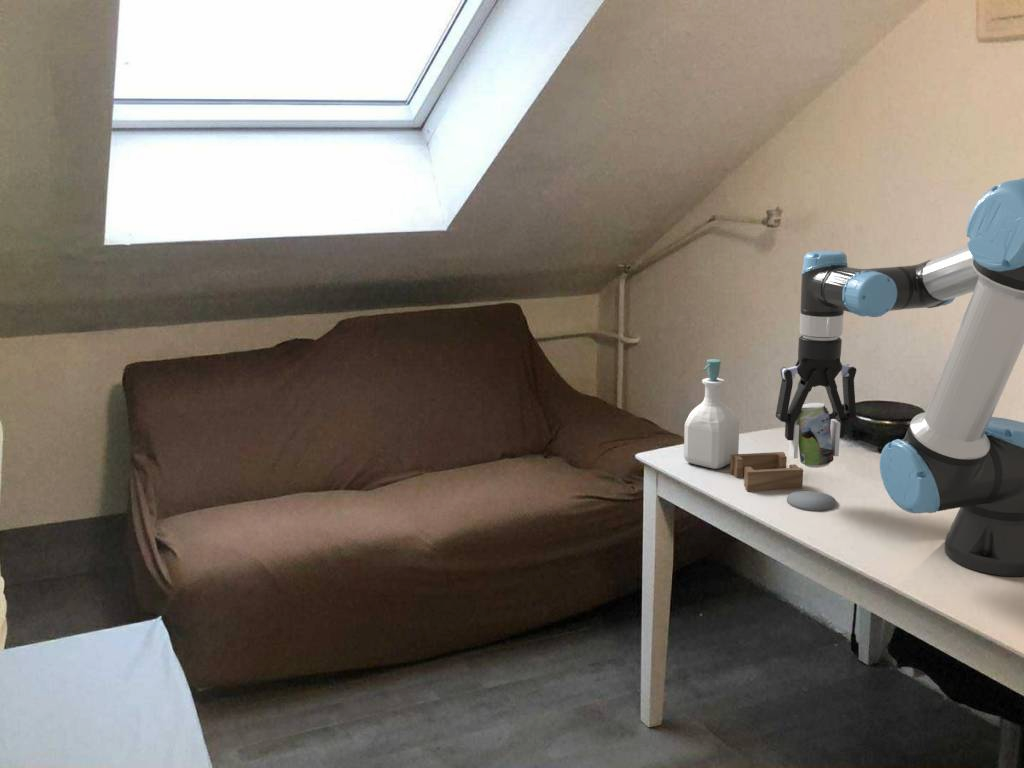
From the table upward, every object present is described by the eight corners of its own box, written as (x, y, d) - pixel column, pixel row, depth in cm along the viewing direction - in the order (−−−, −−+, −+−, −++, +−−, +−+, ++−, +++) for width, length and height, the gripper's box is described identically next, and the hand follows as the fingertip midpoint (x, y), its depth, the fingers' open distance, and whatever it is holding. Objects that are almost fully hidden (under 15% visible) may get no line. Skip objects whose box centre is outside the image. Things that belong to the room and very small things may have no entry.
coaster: (843, 509, 180) (843, 506, 179) (796, 512, 179) (797, 509, 179) (824, 492, 188) (824, 489, 188) (779, 495, 188) (780, 492, 187)
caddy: (802, 488, 191) (803, 469, 190) (747, 491, 190) (747, 472, 189) (782, 470, 202) (783, 451, 201) (730, 472, 201) (730, 454, 200)
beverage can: (834, 471, 178) (839, 409, 175) (793, 469, 180) (797, 408, 177) (830, 460, 184) (834, 400, 181) (791, 458, 186) (794, 399, 183)
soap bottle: (679, 463, 207) (681, 360, 202) (703, 452, 214) (705, 352, 209) (719, 472, 201) (722, 367, 195) (742, 461, 208) (745, 358, 202)
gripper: (864, 330, 180) (856, 446, 186) (759, 334, 179) (754, 451, 184) (882, 338, 173) (873, 458, 179) (773, 342, 171) (768, 464, 177)
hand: (813, 454), depth 181 cm, fingers closed on beverage can, 7 cm apart
